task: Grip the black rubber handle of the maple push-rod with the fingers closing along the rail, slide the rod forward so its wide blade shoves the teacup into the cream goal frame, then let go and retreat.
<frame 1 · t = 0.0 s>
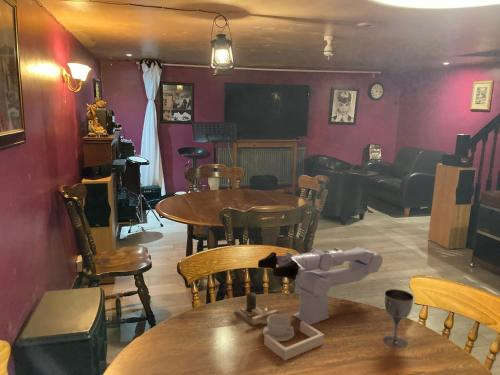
hand: (266, 268, 121), 22 cm above the table, tool horizontal, fingers open, 7 cm apart
rail: (253, 315, 136), on the table
teacup: (278, 334, 126), on the table
pushrod: (256, 307, 135), point 4 cm above the table, slide at 0.0 cm
wine glass: (395, 341, 122), on the table
goal: (293, 343, 120), on the table
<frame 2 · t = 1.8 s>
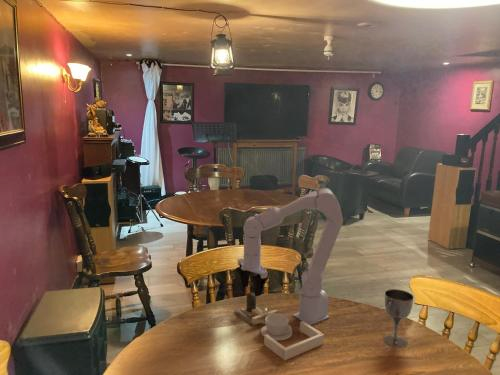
hand: (251, 291, 136), 8 cm above the table, tool pointing down, fingers open, 7 cm apart
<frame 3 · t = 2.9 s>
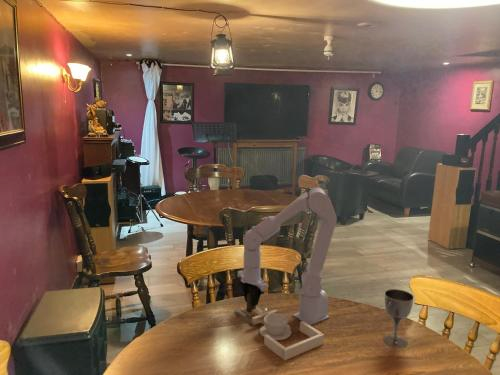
hand: (251, 303, 137), 4 cm above the table, tool pointing down, fingers closed on pushrod, 3 cm apart
pushrod: (256, 307, 135), point 4 cm above the table, slide at 0.0 cm, touching gripper
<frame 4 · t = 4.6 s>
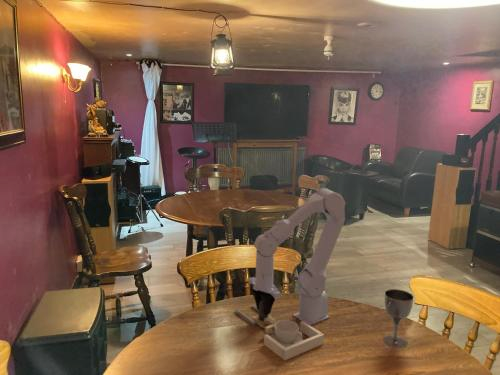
hand: (263, 311, 131), 4 cm above the table, tool pointing down, fingers closed on pushrod, 3 cm apart
teacup: (286, 340, 122), on the table
pushrod: (268, 315, 129), point 4 cm above the table, slide at 7.0 cm, touching gripper
everything else where it was.
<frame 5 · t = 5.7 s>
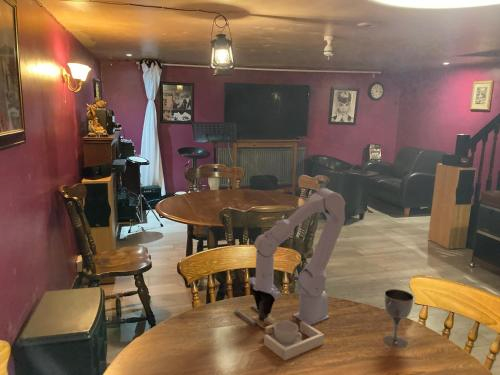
hand: (263, 311, 131), 4 cm above the table, tool pointing down, fingers closed on pushrod, 3 cm apart
pushrod: (268, 315, 129), point 4 cm above the table, slide at 7.0 cm, touching gripper
everything else where it was.
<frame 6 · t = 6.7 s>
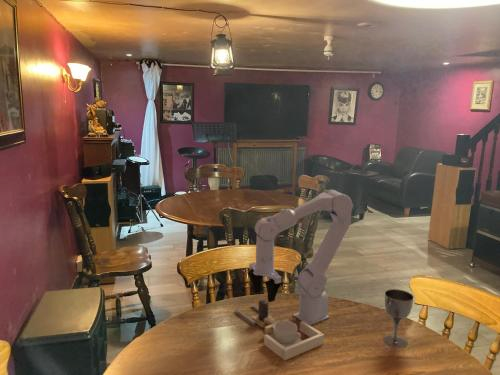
hand: (264, 296, 130), 9 cm above the table, tool pointing down, fingers open, 7 cm apart
pushrod: (268, 315, 129), point 4 cm above the table, slide at 6.9 cm
everything else where it was.
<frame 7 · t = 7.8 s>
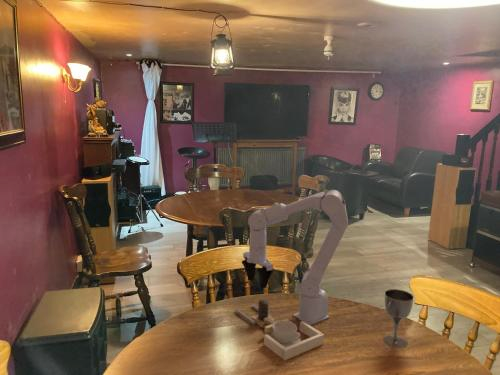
hand: (257, 283, 138), 10 cm above the table, tool pointing down, fingers open, 7 cm apart
nothing on the table moved.
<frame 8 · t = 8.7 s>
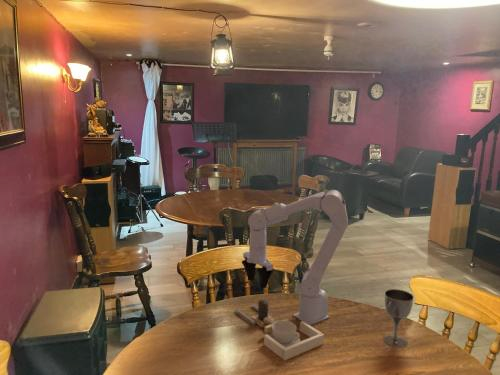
hand: (257, 283, 138), 10 cm above the table, tool pointing down, fingers open, 7 cm apart
nothing on the table moved.
at the end: teacup inside the target area on the goal (3.6 cm from its centre), point 0.0 cm above the goal's base; teacup tilted 0°; pushrod slide at 6.7 cm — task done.
